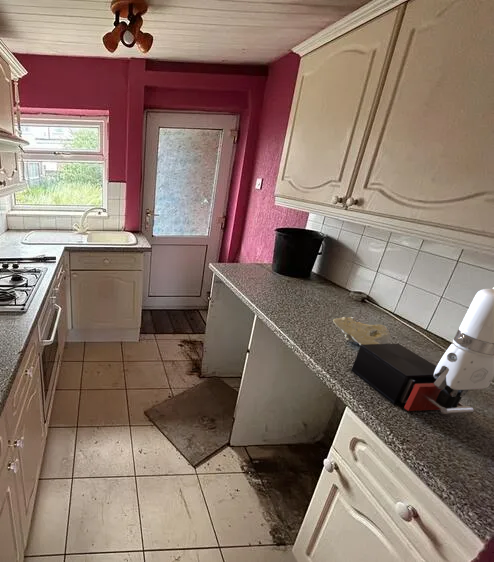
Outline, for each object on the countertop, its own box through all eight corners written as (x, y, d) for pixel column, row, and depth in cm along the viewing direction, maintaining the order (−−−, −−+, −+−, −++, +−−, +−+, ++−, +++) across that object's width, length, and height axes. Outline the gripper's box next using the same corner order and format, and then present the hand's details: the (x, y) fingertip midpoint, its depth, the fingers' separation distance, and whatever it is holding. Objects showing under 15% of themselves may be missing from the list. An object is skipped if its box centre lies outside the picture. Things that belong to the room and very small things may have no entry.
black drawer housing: (435, 402, 85) (450, 374, 82) (393, 404, 84) (406, 375, 80) (387, 369, 99) (398, 343, 95) (351, 370, 97) (360, 344, 94)
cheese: (394, 359, 107) (377, 319, 114) (401, 353, 101) (383, 311, 109) (342, 362, 112) (329, 324, 120) (346, 357, 107) (332, 317, 114)
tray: (472, 426, 76) (487, 401, 73) (431, 429, 75) (444, 403, 72) (399, 375, 94) (409, 354, 91) (365, 377, 93) (373, 355, 90)
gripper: (467, 352, 66) (433, 418, 73) (528, 351, 68) (489, 416, 74) (431, 334, 73) (403, 396, 80) (488, 333, 75) (455, 394, 81)
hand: (444, 405), depth 77 cm, fingers closed
